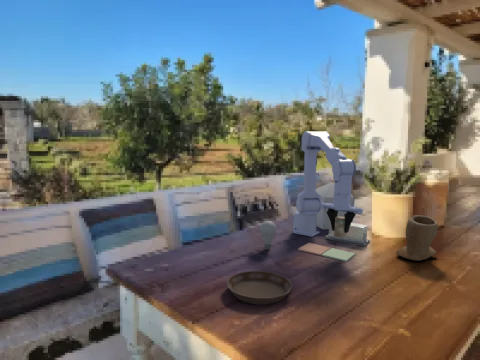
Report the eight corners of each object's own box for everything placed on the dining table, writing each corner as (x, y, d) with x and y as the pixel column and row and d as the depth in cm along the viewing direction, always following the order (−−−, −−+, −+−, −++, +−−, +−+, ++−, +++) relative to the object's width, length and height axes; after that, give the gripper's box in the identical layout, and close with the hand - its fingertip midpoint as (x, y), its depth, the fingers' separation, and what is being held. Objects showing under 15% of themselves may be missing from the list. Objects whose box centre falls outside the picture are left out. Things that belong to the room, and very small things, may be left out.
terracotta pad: (298, 250, 134) (298, 248, 134) (308, 244, 141) (308, 242, 141) (320, 255, 128) (320, 254, 128) (330, 248, 135) (330, 247, 135)
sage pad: (321, 255, 128) (321, 254, 128) (331, 249, 135) (331, 247, 135) (346, 261, 123) (346, 260, 123) (355, 254, 130) (355, 253, 130)
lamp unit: (325, 238, 148) (326, 222, 147) (331, 234, 154) (332, 218, 153) (363, 246, 139) (365, 229, 138) (369, 242, 144) (370, 225, 143)
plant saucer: (252, 274, 111) (253, 265, 111) (303, 291, 100) (303, 281, 100) (213, 294, 98) (213, 284, 97) (266, 316, 87) (267, 305, 86)
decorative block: (306, 220, 177) (308, 180, 174) (334, 219, 181) (336, 180, 178) (323, 229, 161) (325, 186, 159) (353, 227, 166) (356, 185, 163)
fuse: (332, 235, 127) (333, 218, 127) (336, 233, 131) (337, 215, 130) (343, 238, 125) (344, 219, 124) (347, 235, 128) (348, 217, 127)
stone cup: (423, 266, 119) (427, 223, 117) (390, 256, 129) (393, 215, 127) (445, 258, 128) (450, 217, 126) (413, 248, 138) (417, 210, 135)
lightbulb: (274, 253, 130) (275, 223, 128) (258, 251, 131) (258, 222, 130) (276, 247, 136) (277, 219, 134) (260, 246, 137) (261, 218, 135)
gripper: (318, 192, 127) (316, 229, 129) (359, 198, 118) (356, 237, 120) (326, 190, 132) (324, 225, 134) (365, 195, 124) (363, 233, 126)
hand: (340, 231), depth 128 cm, fingers closed on fuse, 4 cm apart
